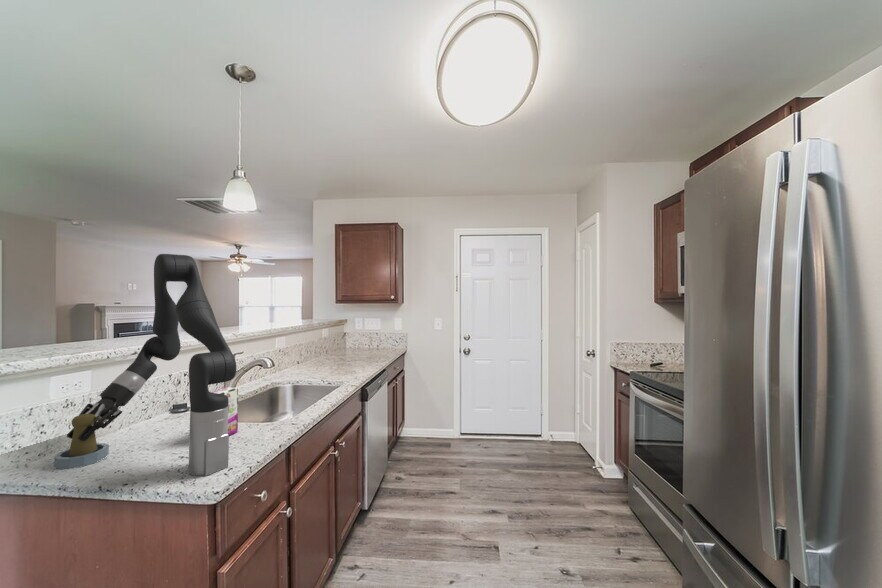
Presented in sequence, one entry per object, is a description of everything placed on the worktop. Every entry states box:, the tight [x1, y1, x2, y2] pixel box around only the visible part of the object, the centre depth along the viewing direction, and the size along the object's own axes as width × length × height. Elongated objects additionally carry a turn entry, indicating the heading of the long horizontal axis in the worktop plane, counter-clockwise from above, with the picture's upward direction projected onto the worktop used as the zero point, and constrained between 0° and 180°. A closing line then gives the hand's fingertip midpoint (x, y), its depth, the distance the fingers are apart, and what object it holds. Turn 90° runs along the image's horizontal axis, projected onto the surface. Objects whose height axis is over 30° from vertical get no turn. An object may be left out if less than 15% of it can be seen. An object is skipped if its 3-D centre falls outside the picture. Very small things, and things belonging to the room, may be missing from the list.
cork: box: [69, 414, 98, 456], centre depth 105 cm, size 6×6×11 cm
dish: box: [53, 442, 110, 470], centre depth 104 cm, size 11×11×3 cm
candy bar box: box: [210, 386, 239, 437], centre depth 123 cm, size 11×5×16 cm, turn 171°
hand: (75, 438), depth 103 cm, fingers closed on cork, 4 cm apart
